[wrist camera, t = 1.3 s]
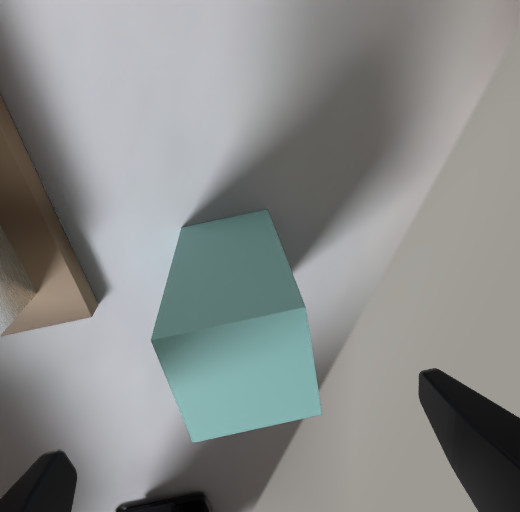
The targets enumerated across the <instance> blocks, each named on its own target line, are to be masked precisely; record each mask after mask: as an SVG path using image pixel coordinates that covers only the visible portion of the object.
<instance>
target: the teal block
mask: <svg viewBox="0 0 520 512" xmlns="http://www.w3.org/2000/svg"><path fill="white" fill-rule="evenodd" d="M151 342H152V344H153V347H154V349H155V352H156V354H157V356H158V359H159V361H160V364H161V366H162V369H163V371H164V373H165V376H166V378H167V381H168V383H169V386H170V388H171V391H172V393H173V395H174V398H175V400H176V403H177V405H178V408H179V410H180V413H181V415H182V417H183V420H184V422H185V425H186V427H187V430H188V432H189V435H190V437H191V439H192V442H193V443H195V442H199V441H204V440H208V439H213V438H217V437H222V436H227V435H231V434H236V433H240V432H245V431H249V430H254V429H259V428H263V427H268V426H272V425H277V424H281V423H286V422H291V421H295V420H300V419H304V418H308V417H313V416H318V415H322V411H321V404H320V398H319V391H318V385H317V378H316V372H315V365H314V359H313V352H312V346H311V339H310V332H309V326H308V319H307V313H306V307H305V304H304V302H303V299H302V297H301V294H300V291H299V289H298V286H297V284H296V281H295V279H294V276H293V273H292V271H291V268H290V266H289V263H288V261H287V258H286V256H285V253H284V250H283V248H282V245H281V243H280V240H279V238H278V235H277V232H276V230H275V227H274V225H273V222H272V220H271V217H270V214H269V212H268V209H267V210H262V211H257V212H253V213H248V214H243V215H238V216H234V217H229V218H224V219H219V220H215V221H210V222H205V223H200V224H196V225H191V226H186V227H182V228H181V231H180V235H179V239H178V242H177V246H176V250H175V253H174V257H173V261H172V265H171V268H170V272H169V276H168V279H167V283H166V287H165V290H164V294H163V298H162V301H161V305H160V309H159V312H158V316H157V320H156V323H155V327H154V331H153V334H152V338H151Z"/></svg>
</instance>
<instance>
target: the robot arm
mask: <svg viewBox="0 0 520 512" xmlns="http://www.w3.org/2000/svg"><path fill="white" fill-rule="evenodd" d="M419 399H420V402H421V405H422V407H423V408H424V411H425V413H426V415H427V417H428V419H429V421H430V423H431V426H432V428H433V430H434V432H435V434H436V436H437V438H438V440H439V442H440V444H441V446H442V448H443V450H444V453H445V455H446V457H447V459H448V461H449V463H450V465H451V467H452V468H453V470H454V472H455V473H456V475H457V477H458V479H459V480H460V482H461V484H462V485H463V487H464V488H465V490H466V492H467V493H468V495H469V496H470V498H471V500H472V502H473V503H474V505H475V507H476V508H477V510H478V512H520V418H519V417H517V416H515V415H514V414H512V413H510V412H509V411H507V410H506V409H504V408H502V407H501V406H499V405H497V404H496V403H494V402H492V401H491V400H489V399H487V398H486V397H484V396H482V395H480V394H479V393H477V392H476V391H474V390H472V389H471V388H469V387H467V386H466V385H464V384H462V383H461V382H459V381H457V380H456V379H454V378H452V377H451V376H449V375H447V374H446V373H444V372H442V371H441V370H439V369H436V368H433V369H428V370H424V371H421V372H420V374H419ZM76 482H77V472H76V469H75V467H74V466H73V464H72V463H71V461H70V460H69V458H68V457H67V455H66V454H65V452H64V451H62V450H57V451H52V452H48V453H45V454H43V455H42V456H41V457H40V458H39V459H38V460H37V461H36V462H35V463H34V464H33V465H32V466H31V467H30V468H29V469H28V470H27V471H26V472H25V473H24V475H23V476H22V477H21V478H20V479H19V480H18V481H17V482H16V483H15V484H14V485H13V486H12V487H11V488H10V489H9V490H8V491H7V493H6V494H5V495H4V496H3V497H2V498H1V499H0V512H71V510H72V504H73V499H74V493H75V488H76ZM117 512H212V509H211V507H210V505H209V502H208V500H207V498H206V496H205V495H204V494H194V495H189V496H184V497H180V498H175V499H171V500H166V501H162V502H157V503H152V504H148V505H143V506H139V507H134V508H130V509H125V510H121V511H117Z"/></svg>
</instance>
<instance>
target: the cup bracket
mask: <svg viewBox="0 0 520 512" xmlns="http://www.w3.org/2000/svg"><path fill="white" fill-rule="evenodd" d="M36 294H37V291H36V290H35V288H34V286H33V284H32V282H31V281H30V279H29V277H28V275H27V273H26V271H25V270H24V268H23V266H22V264H21V262H20V261H19V259H18V257H17V255H16V253H15V251H14V250H13V248H12V246H11V244H10V242H9V240H8V239H7V237H6V235H5V233H4V231H3V230H2V228H1V226H0V335H1V334H2V333H3V332H4V331H5V329H6V328H7V327H8V326H9V325H10V324H11V323H12V322H13V320H14V319H15V318H16V317H17V316H18V315H19V314H20V312H21V311H22V310H23V309H24V308H25V307H26V306H27V305H28V303H29V302H30V301H31V300H32V299H33V298H34V297H35V296H36Z"/></svg>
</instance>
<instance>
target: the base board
mask: <svg viewBox="0 0 520 512" xmlns="http://www.w3.org/2000/svg"><path fill="white" fill-rule="evenodd" d="M0 226H1V228H2V230H3V231H4V233H5V235H6V237H7V239H8V240H9V242H10V244H11V246H12V248H13V250H14V251H15V253H16V255H17V257H18V259H19V261H20V262H21V264H22V266H23V268H24V270H25V271H26V273H27V275H28V277H29V279H30V281H31V282H32V284H33V286H34V288H35V290H36V291H37V294H36V296H35V297H34V298H33V299H32V300H31V301H30V302H29V303H28V305H27V306H26V307H25V308H24V309H23V310H22V311H21V312H20V314H19V315H18V316H17V317H16V318H15V319H14V320H13V322H12V323H11V324H10V325H9V326H8V327H7V328H6V329H5V331H4V332H3V333H2V334H1V335H0V336H4V335H9V334H14V333H18V332H23V331H28V330H32V329H37V328H42V327H46V326H51V325H56V324H60V323H65V322H70V321H75V320H79V319H84V318H89V317H92V316H93V314H94V312H95V310H96V309H97V307H98V303H97V301H96V298H95V296H94V294H93V292H92V290H91V288H90V286H89V283H88V281H87V279H86V277H85V275H84V273H83V271H82V268H81V266H80V264H79V262H78V260H77V258H76V256H75V254H74V251H73V249H72V247H71V245H70V243H69V241H68V239H67V236H66V234H65V232H64V230H63V228H62V226H61V224H60V221H59V219H58V217H57V215H56V213H55V211H54V209H53V206H52V204H51V202H50V200H49V198H48V196H47V194H46V191H45V189H44V187H43V185H42V183H41V181H40V179H39V176H38V174H37V172H36V170H35V168H34V166H33V164H32V161H31V159H30V157H29V155H28V153H27V151H26V149H25V146H24V144H23V142H22V140H21V138H20V136H19V134H18V131H17V129H16V127H15V125H14V123H13V121H12V119H11V116H10V114H9V112H8V110H7V108H6V106H5V104H4V101H3V99H2V97H1V95H0Z"/></svg>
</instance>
